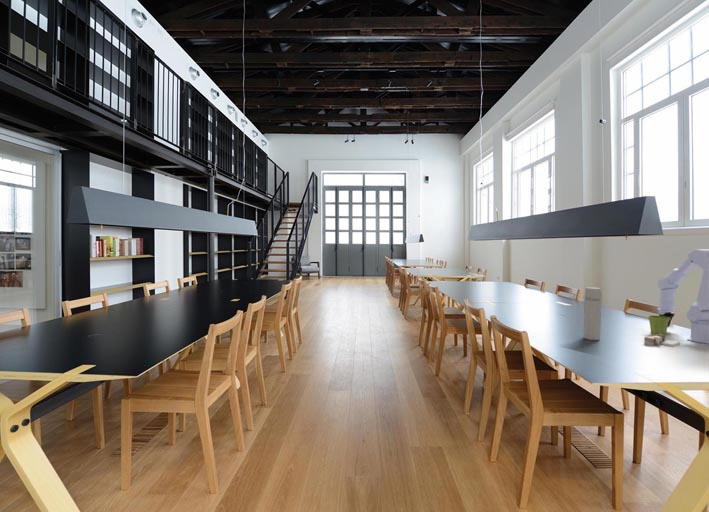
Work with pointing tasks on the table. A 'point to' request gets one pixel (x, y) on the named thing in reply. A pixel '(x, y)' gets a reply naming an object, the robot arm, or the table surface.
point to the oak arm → (652, 339)
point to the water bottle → (592, 313)
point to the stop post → (657, 341)
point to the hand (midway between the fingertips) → (666, 326)
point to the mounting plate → (670, 343)
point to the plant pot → (658, 324)
